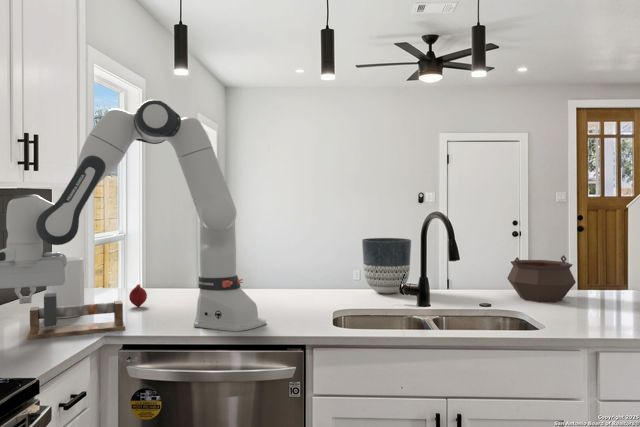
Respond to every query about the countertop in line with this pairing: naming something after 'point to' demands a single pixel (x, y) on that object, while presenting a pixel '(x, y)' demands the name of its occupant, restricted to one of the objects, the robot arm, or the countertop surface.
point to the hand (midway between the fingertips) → (25, 303)
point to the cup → (70, 284)
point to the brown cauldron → (541, 279)
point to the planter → (386, 263)
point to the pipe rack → (77, 310)
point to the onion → (138, 296)
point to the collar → (50, 309)
